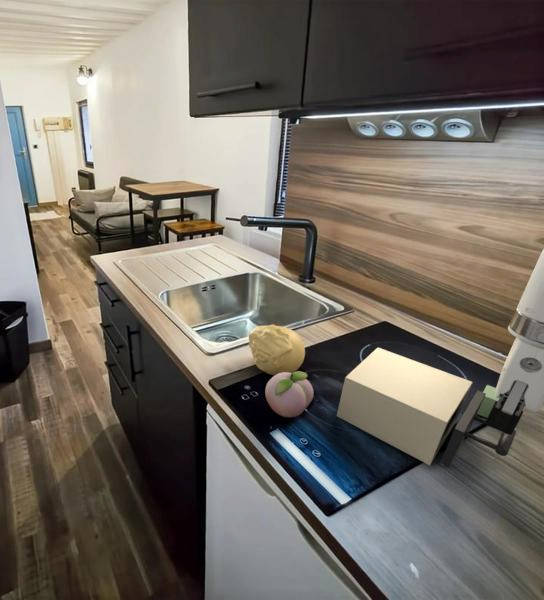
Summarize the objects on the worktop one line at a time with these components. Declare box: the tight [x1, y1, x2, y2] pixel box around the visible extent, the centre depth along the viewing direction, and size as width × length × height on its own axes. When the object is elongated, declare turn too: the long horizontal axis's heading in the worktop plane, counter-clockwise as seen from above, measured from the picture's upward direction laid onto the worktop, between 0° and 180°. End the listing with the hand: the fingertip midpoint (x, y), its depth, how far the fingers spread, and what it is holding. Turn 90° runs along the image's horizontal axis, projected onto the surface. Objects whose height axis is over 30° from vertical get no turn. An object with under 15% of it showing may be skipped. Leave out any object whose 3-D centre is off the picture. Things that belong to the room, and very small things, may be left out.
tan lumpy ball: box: [248, 323, 306, 377], centre depth 85 cm, size 11×12×11 cm
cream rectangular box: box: [336, 347, 473, 466], centre depth 69 cm, size 16×15×10 cm
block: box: [477, 384, 499, 419], centre depth 70 cm, size 4×4×4 cm
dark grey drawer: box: [439, 390, 517, 468], centre depth 65 cm, size 20×13×8 cm
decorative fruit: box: [264, 370, 314, 418], centre depth 71 cm, size 9×8×10 cm
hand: (498, 427), depth 58 cm, fingers closed
